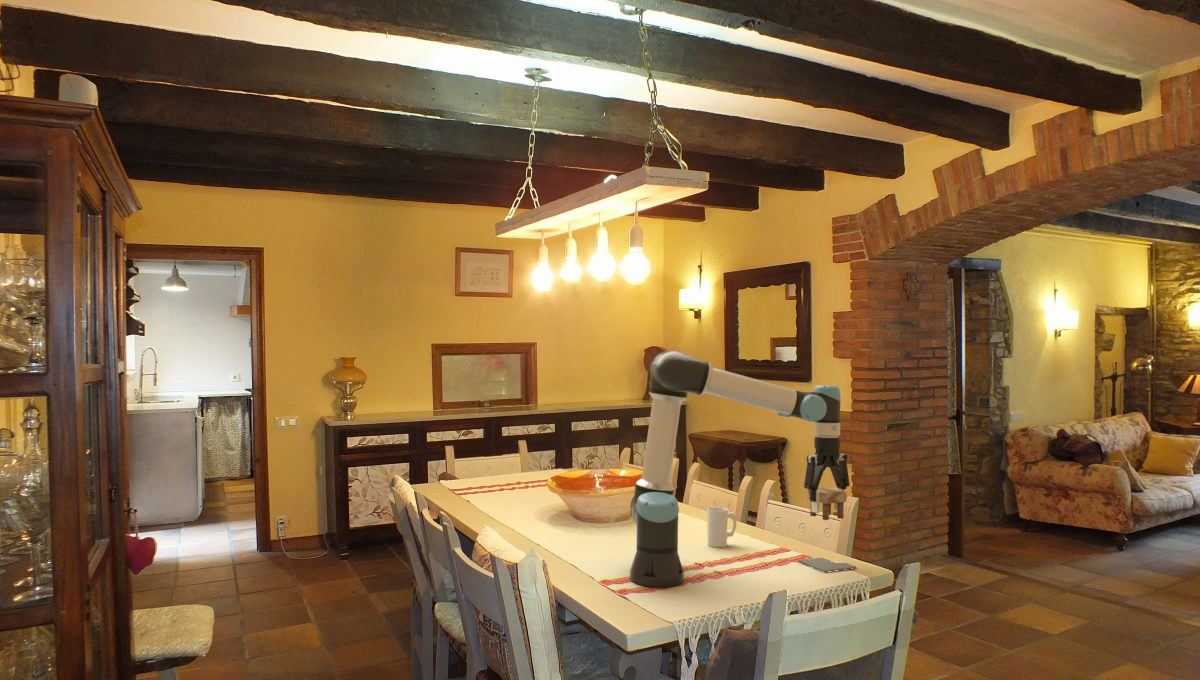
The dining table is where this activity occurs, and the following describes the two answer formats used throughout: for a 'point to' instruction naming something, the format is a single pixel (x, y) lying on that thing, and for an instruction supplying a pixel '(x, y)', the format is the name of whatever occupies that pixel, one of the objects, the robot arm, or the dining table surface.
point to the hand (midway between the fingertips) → (826, 511)
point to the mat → (825, 564)
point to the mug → (719, 526)
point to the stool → (830, 501)
